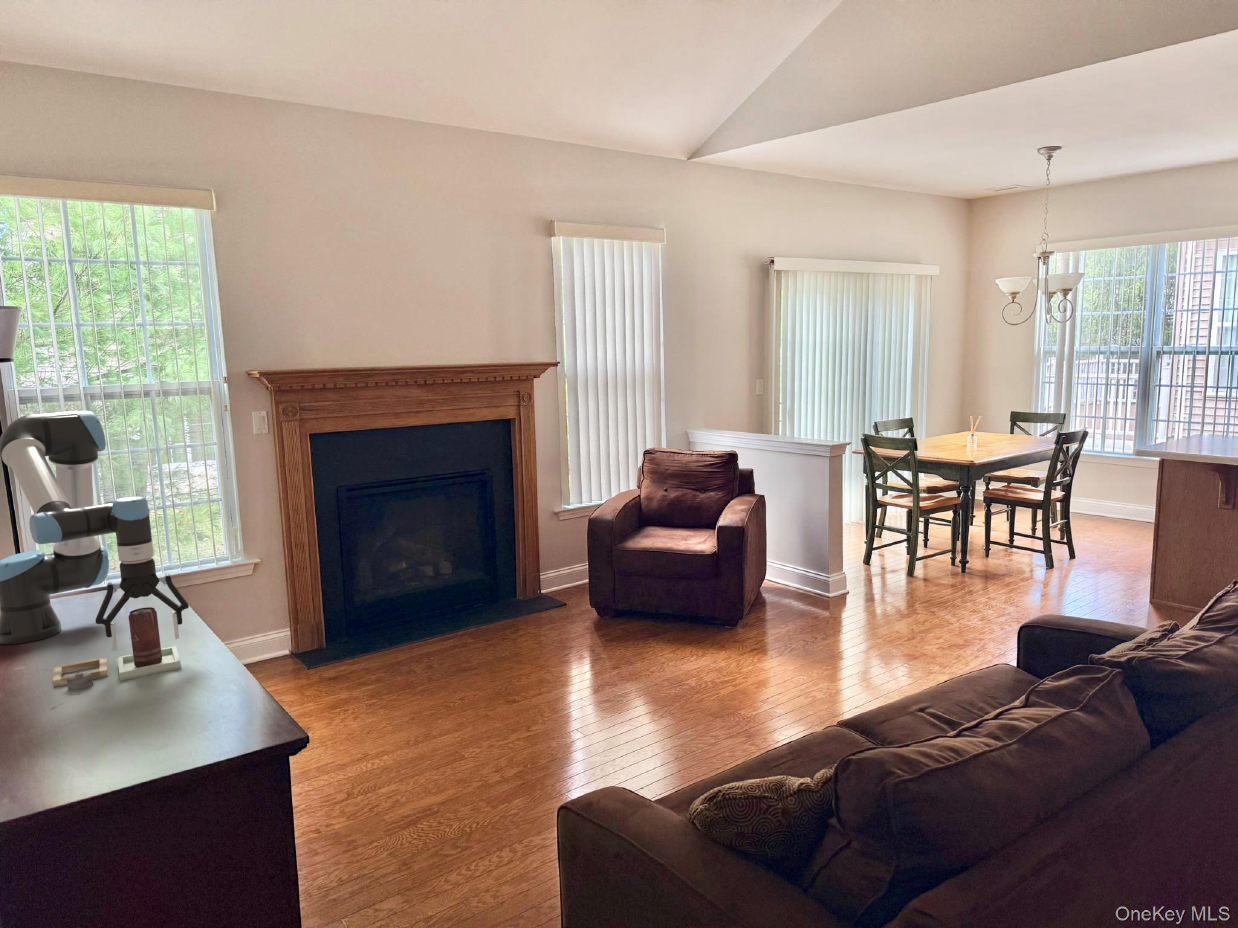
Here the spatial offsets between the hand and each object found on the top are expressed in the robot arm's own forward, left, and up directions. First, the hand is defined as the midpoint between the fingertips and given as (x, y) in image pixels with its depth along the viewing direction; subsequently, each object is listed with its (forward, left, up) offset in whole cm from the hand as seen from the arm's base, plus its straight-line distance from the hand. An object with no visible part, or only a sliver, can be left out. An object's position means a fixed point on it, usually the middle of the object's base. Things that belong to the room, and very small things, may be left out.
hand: (146, 643), depth 209 cm
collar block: (-1, -15, -6) cm, 16 cm away
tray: (0, 0, -6) cm, 6 cm away
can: (0, 0, -6) cm, 6 cm away
